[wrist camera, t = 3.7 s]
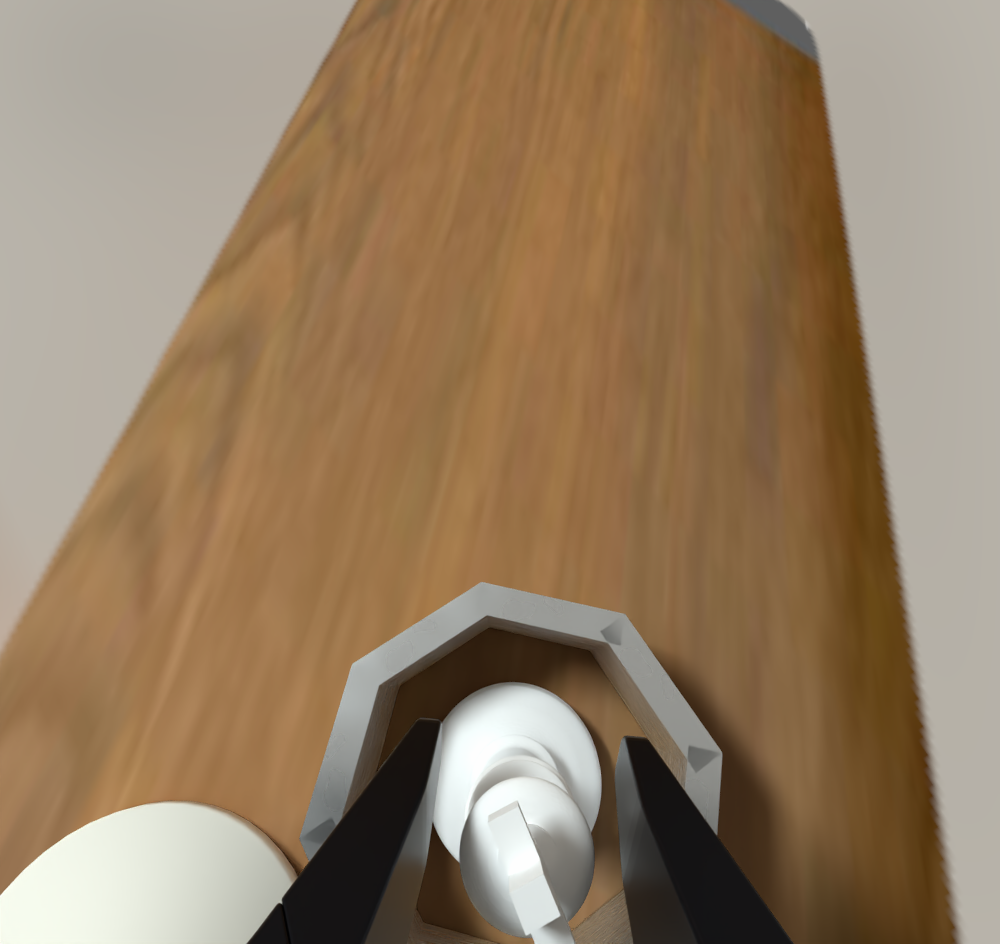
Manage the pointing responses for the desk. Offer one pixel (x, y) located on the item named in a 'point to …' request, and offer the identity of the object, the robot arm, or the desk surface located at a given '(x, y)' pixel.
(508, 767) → the chess piece
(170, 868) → the felt pad
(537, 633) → the ring collar
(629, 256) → the desk surface
